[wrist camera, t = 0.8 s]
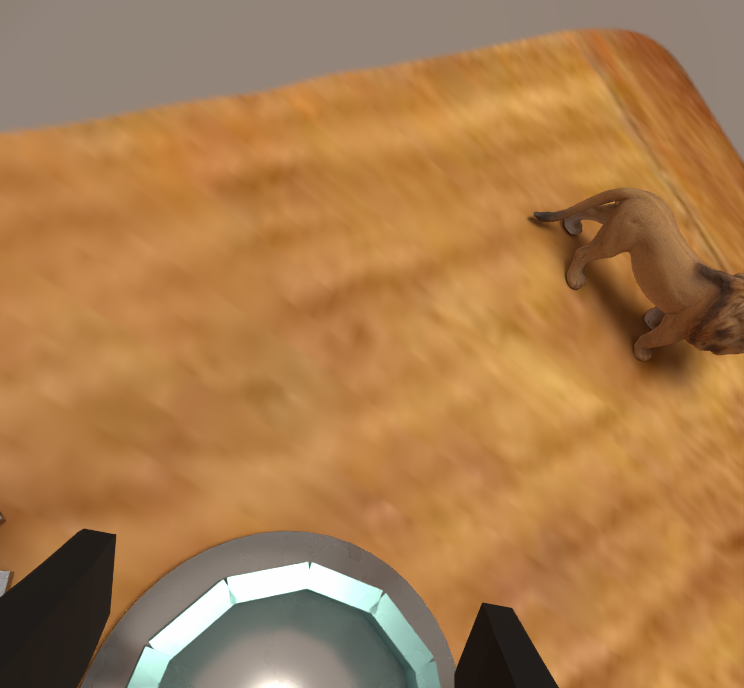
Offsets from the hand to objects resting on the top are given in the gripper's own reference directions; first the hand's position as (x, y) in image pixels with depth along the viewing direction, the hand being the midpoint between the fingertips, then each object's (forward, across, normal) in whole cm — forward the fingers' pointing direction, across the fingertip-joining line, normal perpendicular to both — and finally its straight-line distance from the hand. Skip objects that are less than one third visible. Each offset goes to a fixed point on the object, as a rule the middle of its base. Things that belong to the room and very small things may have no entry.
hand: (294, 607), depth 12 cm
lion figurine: (+29, -17, 0) cm, 34 cm away
